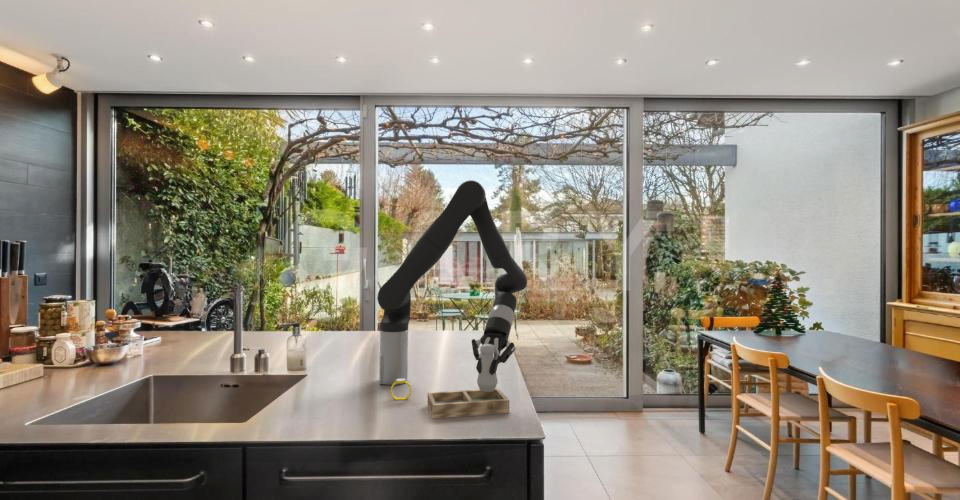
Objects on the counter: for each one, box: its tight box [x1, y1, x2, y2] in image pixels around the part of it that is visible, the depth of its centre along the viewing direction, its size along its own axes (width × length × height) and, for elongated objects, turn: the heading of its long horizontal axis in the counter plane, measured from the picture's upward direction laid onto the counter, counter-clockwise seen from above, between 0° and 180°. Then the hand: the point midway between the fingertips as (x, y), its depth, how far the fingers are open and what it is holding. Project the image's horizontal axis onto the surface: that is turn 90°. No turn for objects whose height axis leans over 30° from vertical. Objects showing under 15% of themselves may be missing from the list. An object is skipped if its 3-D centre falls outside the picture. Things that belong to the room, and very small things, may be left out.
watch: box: [390, 378, 412, 401], centre depth 138 cm, size 6×3×6 cm, turn 97°
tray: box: [426, 387, 510, 419], centre depth 131 cm, size 21×11×4 cm, turn 104°
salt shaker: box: [476, 344, 498, 392], centre depth 134 cm, size 6×6×13 cm
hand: (485, 372), depth 132 cm, fingers closed on salt shaker, 3 cm apart
